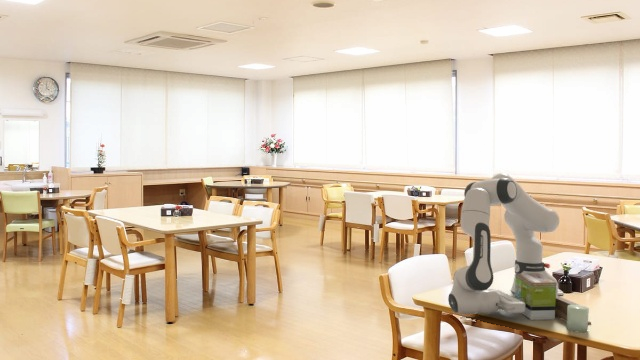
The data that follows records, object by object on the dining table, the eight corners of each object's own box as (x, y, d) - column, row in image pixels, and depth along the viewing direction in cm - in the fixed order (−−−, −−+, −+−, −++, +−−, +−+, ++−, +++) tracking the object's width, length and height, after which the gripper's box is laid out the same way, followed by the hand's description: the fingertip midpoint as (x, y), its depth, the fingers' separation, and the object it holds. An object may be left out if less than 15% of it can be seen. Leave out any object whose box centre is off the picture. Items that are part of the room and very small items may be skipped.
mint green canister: (579, 325, 215) (580, 304, 215) (591, 331, 208) (593, 309, 208) (562, 326, 214) (563, 305, 213) (574, 332, 207) (575, 310, 206)
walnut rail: (551, 306, 240) (552, 289, 240) (591, 324, 217) (592, 305, 216) (536, 306, 239) (537, 290, 238) (574, 325, 215) (575, 306, 215)
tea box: (513, 308, 235) (514, 272, 234) (537, 308, 236) (538, 272, 235) (530, 320, 220) (532, 281, 219) (555, 320, 221) (557, 281, 220)
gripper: (504, 300, 213) (538, 299, 216) (477, 286, 233) (508, 285, 236) (504, 317, 214) (537, 315, 217) (477, 302, 234) (508, 300, 237)
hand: (522, 299), depth 227 cm, fingers closed
